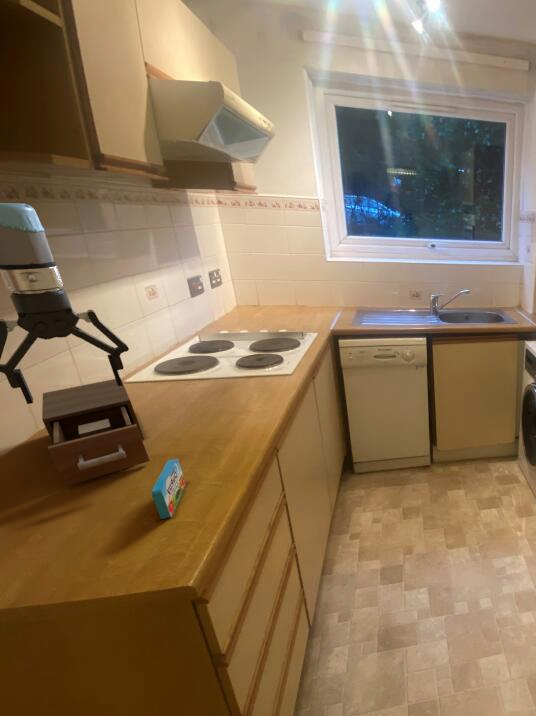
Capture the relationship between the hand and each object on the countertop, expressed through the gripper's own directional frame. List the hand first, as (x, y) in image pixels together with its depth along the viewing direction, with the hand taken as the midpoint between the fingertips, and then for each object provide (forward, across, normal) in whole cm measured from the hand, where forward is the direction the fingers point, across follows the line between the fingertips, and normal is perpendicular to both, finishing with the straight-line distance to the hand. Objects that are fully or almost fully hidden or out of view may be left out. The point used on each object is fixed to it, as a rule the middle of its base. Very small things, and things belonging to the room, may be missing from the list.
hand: (77, 392), depth 90 cm
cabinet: (+17, 0, +17) cm, 24 cm away
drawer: (+16, 0, -2) cm, 16 cm away
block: (+15, +1, 0) cm, 15 cm away
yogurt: (+17, +8, -27) cm, 33 cm away
